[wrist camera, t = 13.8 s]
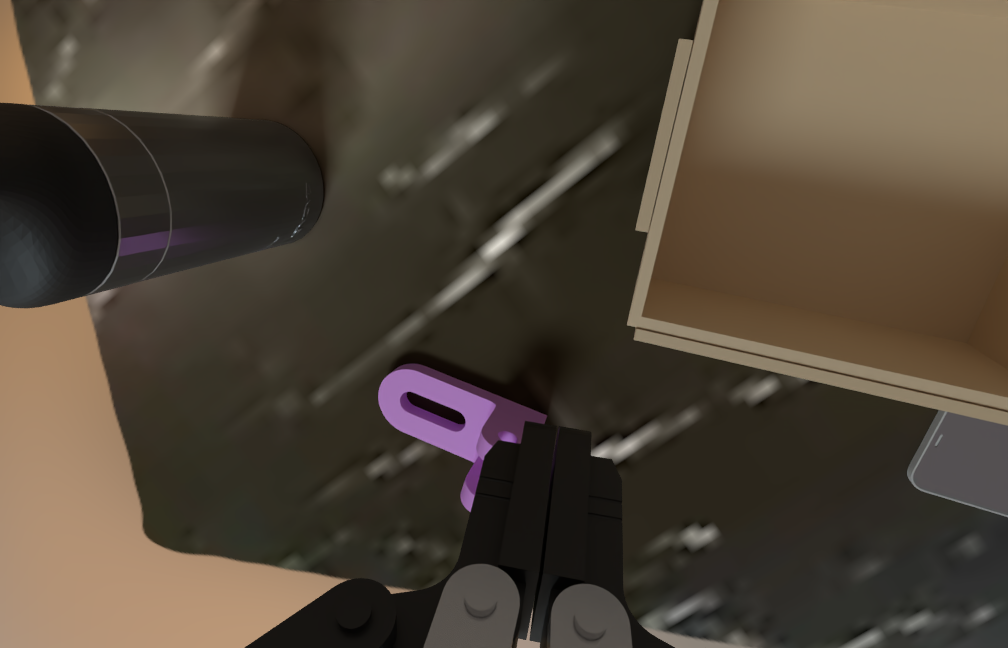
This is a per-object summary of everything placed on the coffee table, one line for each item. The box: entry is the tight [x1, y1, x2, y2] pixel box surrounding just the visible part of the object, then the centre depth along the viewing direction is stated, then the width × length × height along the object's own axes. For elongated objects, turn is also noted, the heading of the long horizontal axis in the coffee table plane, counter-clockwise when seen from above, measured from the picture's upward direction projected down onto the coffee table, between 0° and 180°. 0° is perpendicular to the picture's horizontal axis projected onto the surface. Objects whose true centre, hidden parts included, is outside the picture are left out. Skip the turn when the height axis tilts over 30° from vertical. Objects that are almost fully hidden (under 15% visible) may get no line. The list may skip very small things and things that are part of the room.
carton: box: [627, 0, 1008, 426], centre depth 29 cm, size 21×19×10 cm
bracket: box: [378, 364, 547, 512], centre depth 42 cm, size 13×6×7 cm, turn 73°
